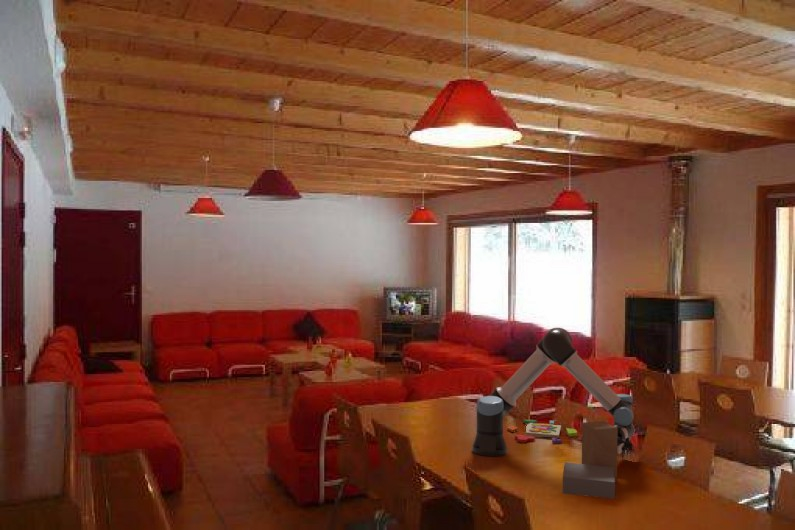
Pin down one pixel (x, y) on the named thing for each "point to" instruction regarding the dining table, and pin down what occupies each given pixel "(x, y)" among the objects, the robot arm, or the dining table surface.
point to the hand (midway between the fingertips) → (600, 447)
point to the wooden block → (599, 444)
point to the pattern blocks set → (541, 431)
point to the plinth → (588, 480)
